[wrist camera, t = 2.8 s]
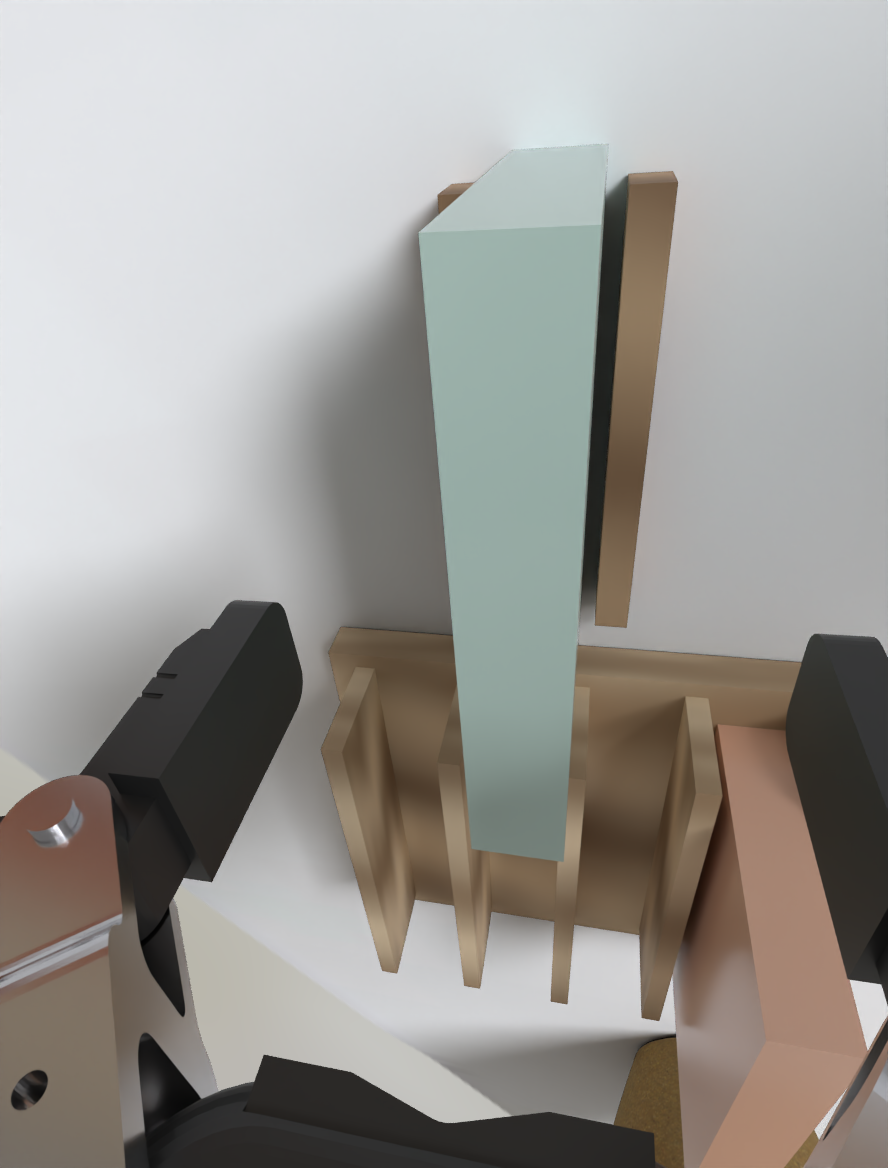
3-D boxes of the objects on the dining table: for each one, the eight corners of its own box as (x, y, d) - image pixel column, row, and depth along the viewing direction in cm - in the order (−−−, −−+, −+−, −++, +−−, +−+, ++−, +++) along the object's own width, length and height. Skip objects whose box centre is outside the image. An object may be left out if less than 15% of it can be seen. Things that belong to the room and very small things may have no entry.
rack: (340, 626, 22) (288, 733, 18) (861, 667, 19) (916, 804, 15) (392, 868, 30) (364, 973, 27) (757, 923, 27) (777, 1048, 24)
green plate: (512, 149, 13) (418, 232, 7) (608, 143, 13) (600, 225, 7) (517, 599, 20) (471, 848, 13) (580, 603, 19) (563, 861, 13)
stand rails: (452, 183, 14) (437, 195, 12) (672, 171, 13) (678, 182, 12) (474, 585, 20) (466, 616, 18) (625, 594, 19) (626, 627, 18)
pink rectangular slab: (717, 724, 19) (766, 1040, 13) (786, 730, 19) (869, 1059, 13) (669, 919, 26) (686, 1191, 20) (719, 927, 25) (752, 1207, 19)
